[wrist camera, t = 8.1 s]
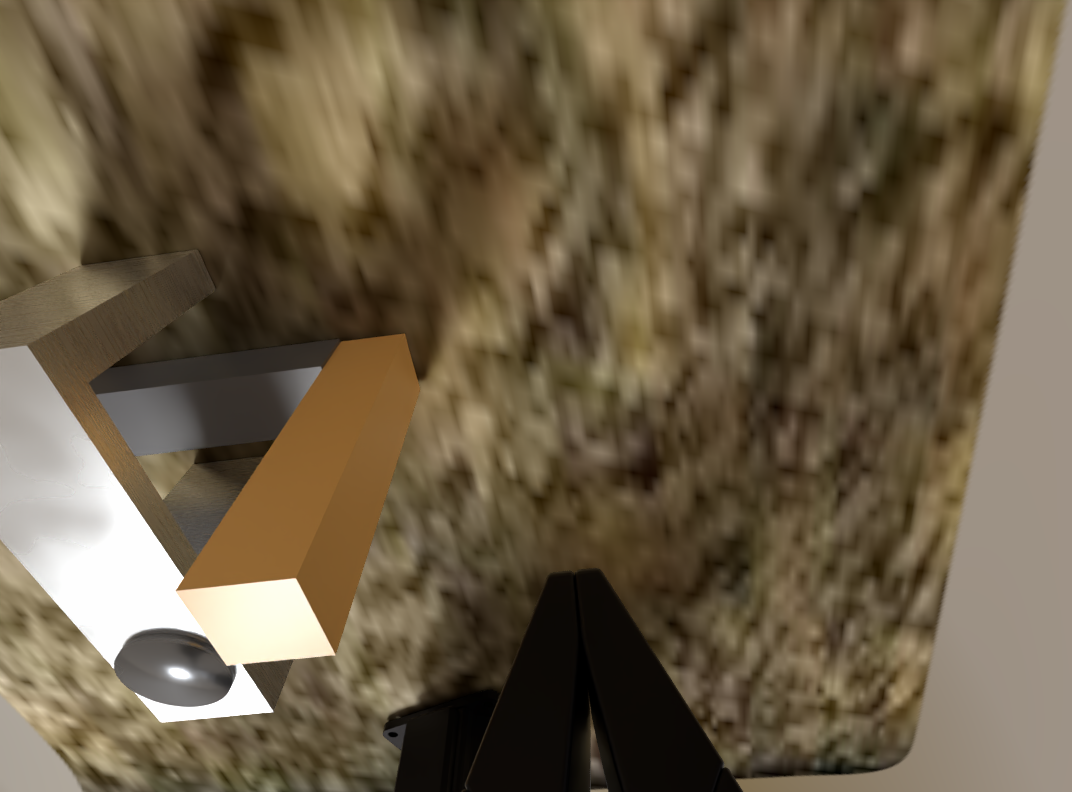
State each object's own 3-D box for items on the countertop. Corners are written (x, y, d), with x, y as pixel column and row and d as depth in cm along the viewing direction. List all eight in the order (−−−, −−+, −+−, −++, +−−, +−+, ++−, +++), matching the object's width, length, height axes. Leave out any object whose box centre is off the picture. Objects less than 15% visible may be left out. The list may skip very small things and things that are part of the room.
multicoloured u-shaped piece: (396, 302, 16) (271, 532, 8) (427, 415, 18) (352, 687, 10) (-157, 374, 17) (-757, 646, 9) (-67, 474, 19) (-493, 768, 11)
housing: (197, 249, 15) (16, 351, 10) (334, 553, 22) (269, 720, 16) (79, 265, 16) (-164, 375, 10) (249, 563, 22) (156, 730, 16)
